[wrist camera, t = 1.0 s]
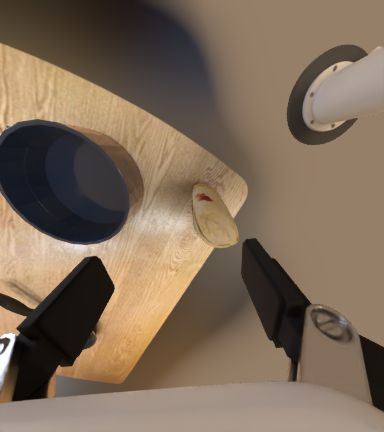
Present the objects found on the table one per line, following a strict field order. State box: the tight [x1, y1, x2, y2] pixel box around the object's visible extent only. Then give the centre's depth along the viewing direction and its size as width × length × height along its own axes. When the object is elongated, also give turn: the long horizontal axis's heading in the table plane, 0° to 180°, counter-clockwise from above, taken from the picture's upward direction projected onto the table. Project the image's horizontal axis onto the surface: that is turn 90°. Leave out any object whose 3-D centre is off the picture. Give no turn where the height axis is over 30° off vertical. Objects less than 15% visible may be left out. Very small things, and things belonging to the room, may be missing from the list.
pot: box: [0, 119, 143, 245], centre depth 32 cm, size 24×24×10 cm
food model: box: [192, 183, 239, 248], centre depth 29 cm, size 10×7×20 cm
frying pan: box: [0, 293, 97, 350], centre depth 55 cm, size 44×25×7 cm, turn 19°
